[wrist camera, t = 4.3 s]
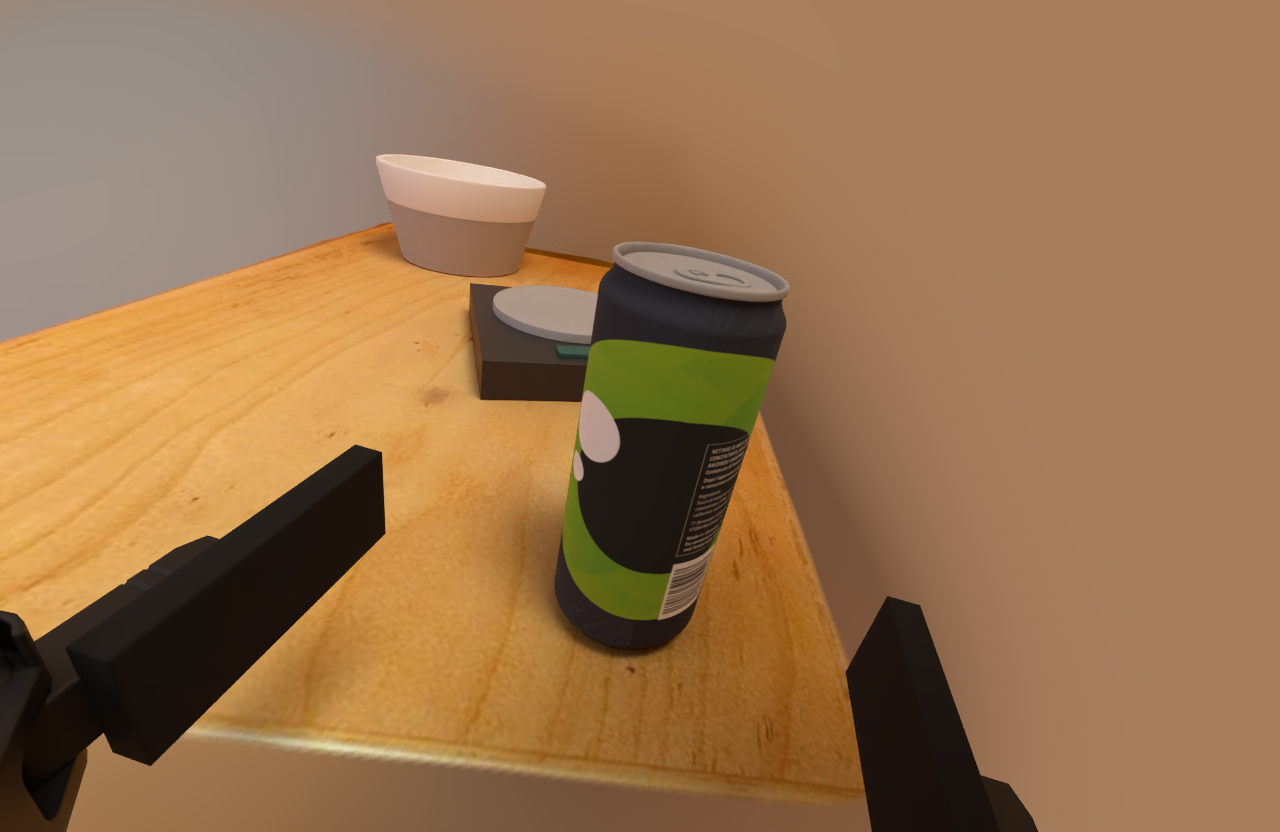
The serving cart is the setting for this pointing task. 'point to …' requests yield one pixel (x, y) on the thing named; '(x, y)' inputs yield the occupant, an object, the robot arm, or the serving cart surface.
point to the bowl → (459, 213)
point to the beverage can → (662, 434)
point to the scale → (531, 341)
